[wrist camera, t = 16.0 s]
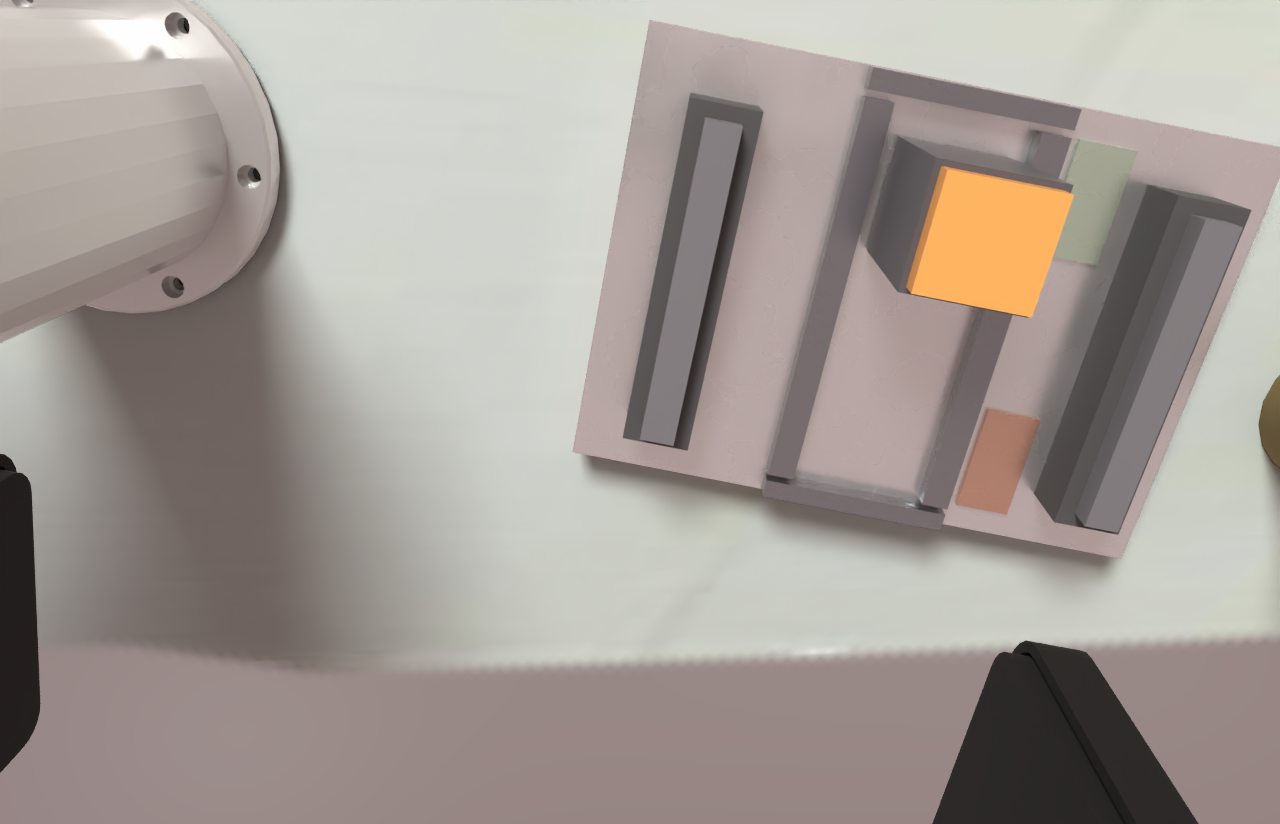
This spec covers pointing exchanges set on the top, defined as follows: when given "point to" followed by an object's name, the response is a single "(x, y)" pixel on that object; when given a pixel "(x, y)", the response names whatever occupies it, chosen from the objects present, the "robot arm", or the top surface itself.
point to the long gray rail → (1108, 377)
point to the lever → (967, 226)
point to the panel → (886, 290)
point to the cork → (1271, 423)
